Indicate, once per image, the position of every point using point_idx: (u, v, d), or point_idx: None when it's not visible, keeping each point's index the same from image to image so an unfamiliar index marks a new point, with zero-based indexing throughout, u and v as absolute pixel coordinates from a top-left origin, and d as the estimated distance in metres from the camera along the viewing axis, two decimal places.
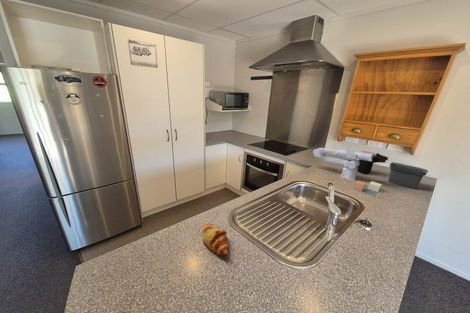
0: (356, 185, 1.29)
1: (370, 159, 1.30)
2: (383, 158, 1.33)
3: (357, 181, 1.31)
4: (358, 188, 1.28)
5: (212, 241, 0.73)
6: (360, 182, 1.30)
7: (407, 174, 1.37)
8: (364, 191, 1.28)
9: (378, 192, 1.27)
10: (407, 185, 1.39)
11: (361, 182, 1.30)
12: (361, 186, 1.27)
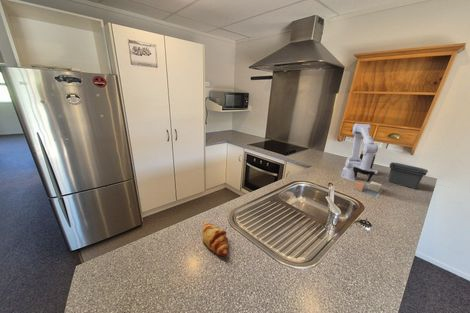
0: (356, 185, 1.29)
1: None
2: None
3: (357, 181, 1.31)
4: (358, 188, 1.28)
5: (212, 241, 0.73)
6: (360, 182, 1.30)
7: (407, 174, 1.37)
8: (364, 191, 1.28)
9: (378, 192, 1.27)
10: (407, 185, 1.39)
11: (361, 182, 1.30)
12: (361, 186, 1.27)
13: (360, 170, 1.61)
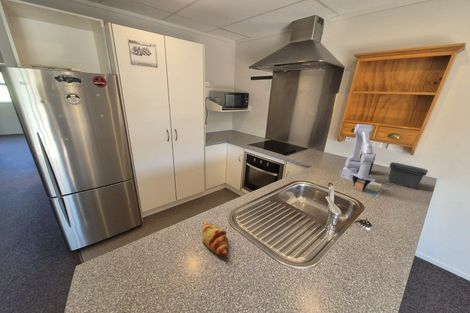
0: (356, 185, 1.29)
1: None
2: (364, 186, 1.28)
3: (357, 181, 1.31)
4: (358, 188, 1.28)
5: (211, 240, 0.73)
6: (360, 182, 1.30)
7: (407, 174, 1.37)
8: (364, 191, 1.28)
9: (378, 192, 1.27)
10: (407, 185, 1.39)
11: (361, 182, 1.30)
12: (361, 186, 1.27)
13: None
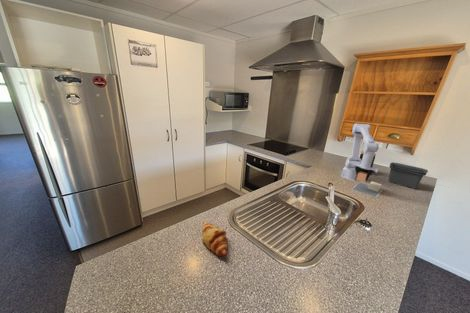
0: (359, 175, 1.27)
1: None
2: (367, 176, 1.26)
3: (360, 172, 1.29)
4: (361, 178, 1.26)
5: (211, 241, 0.73)
6: (363, 172, 1.27)
7: (407, 174, 1.37)
8: (364, 191, 1.28)
9: (378, 192, 1.27)
10: (407, 185, 1.39)
11: (364, 172, 1.27)
12: (364, 176, 1.24)
13: (360, 170, 1.61)
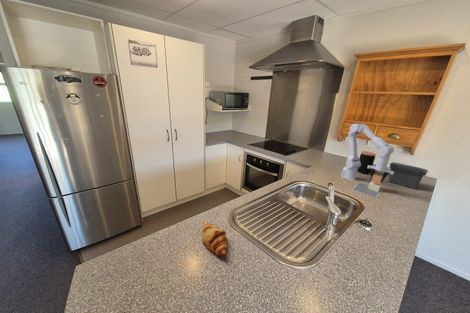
0: (374, 178, 1.29)
1: None
2: (382, 178, 1.28)
3: (375, 174, 1.31)
4: (376, 180, 1.28)
5: (211, 241, 0.73)
6: (378, 175, 1.29)
7: (407, 174, 1.37)
8: (364, 191, 1.28)
9: (378, 192, 1.27)
10: (407, 185, 1.39)
11: (379, 175, 1.29)
12: (379, 178, 1.27)
13: (360, 170, 1.61)
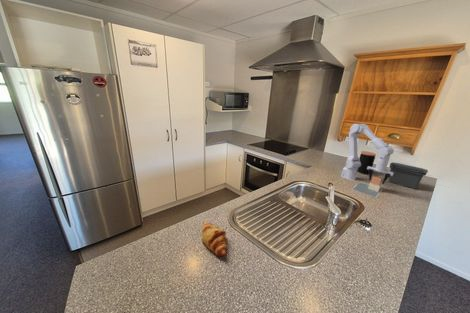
0: (373, 180, 1.29)
1: None
2: (383, 180, 1.27)
3: (374, 176, 1.31)
4: (375, 183, 1.29)
5: (211, 240, 0.73)
6: (377, 177, 1.30)
7: (407, 174, 1.37)
8: (364, 191, 1.28)
9: (378, 192, 1.27)
10: (407, 185, 1.39)
11: (378, 177, 1.30)
12: (378, 181, 1.27)
13: (360, 170, 1.61)
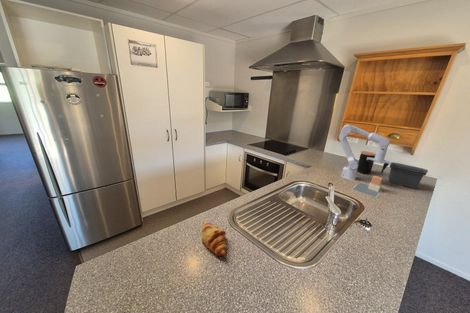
0: (373, 180, 1.29)
1: None
2: (382, 169, 1.36)
3: (374, 176, 1.31)
4: (375, 183, 1.29)
5: (210, 240, 0.73)
6: (377, 177, 1.30)
7: (407, 174, 1.37)
8: (364, 191, 1.28)
9: (378, 192, 1.27)
10: (407, 185, 1.39)
11: (378, 177, 1.30)
12: (378, 181, 1.27)
13: (360, 170, 1.61)
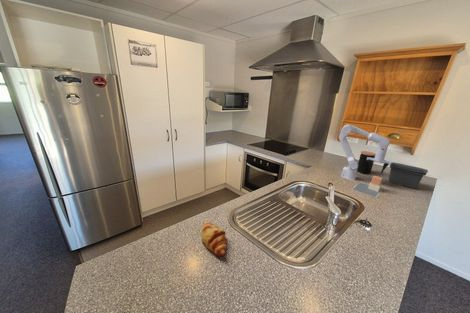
0: (373, 180, 1.29)
1: None
2: (382, 169, 1.36)
3: (374, 176, 1.31)
4: (375, 183, 1.29)
5: (210, 240, 0.73)
6: (377, 177, 1.30)
7: (407, 174, 1.37)
8: (364, 191, 1.28)
9: (378, 192, 1.27)
10: (407, 185, 1.39)
11: (378, 177, 1.30)
12: (378, 181, 1.27)
13: (360, 170, 1.61)
